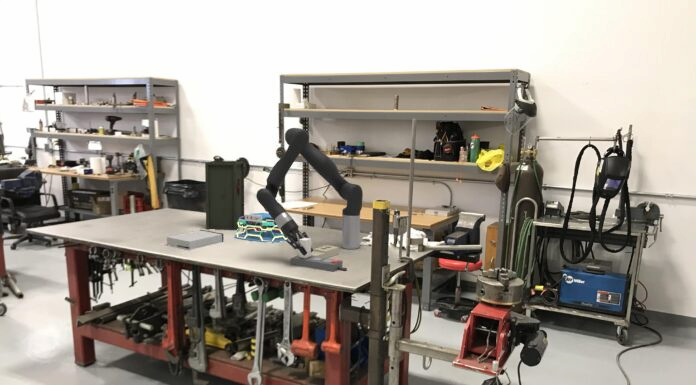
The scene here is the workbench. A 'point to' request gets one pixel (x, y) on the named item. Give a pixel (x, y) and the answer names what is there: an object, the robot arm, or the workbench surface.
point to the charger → (305, 247)
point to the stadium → (259, 228)
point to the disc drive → (195, 239)
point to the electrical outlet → (325, 251)
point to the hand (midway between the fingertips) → (308, 253)
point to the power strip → (318, 263)
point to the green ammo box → (224, 194)
